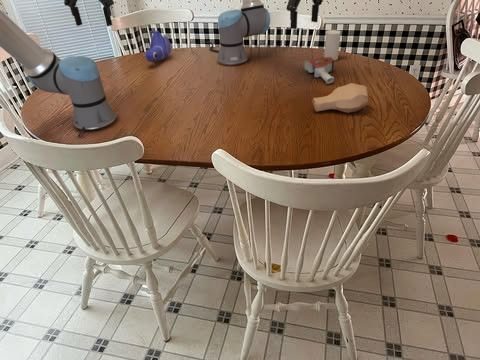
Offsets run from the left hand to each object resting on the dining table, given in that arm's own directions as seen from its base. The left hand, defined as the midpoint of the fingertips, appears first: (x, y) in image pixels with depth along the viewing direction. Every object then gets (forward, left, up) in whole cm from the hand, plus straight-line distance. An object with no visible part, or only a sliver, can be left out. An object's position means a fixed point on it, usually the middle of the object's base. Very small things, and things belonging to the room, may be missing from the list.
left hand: (94, 25), depth 139 cm
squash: (-26, -93, -28) cm, 101 cm away
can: (+33, -101, -28) cm, 110 cm away
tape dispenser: (+10, -92, -28) cm, 97 cm away
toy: (+41, -12, -28) cm, 51 cm away
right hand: (+10, -84, -6) cm, 84 cm away
